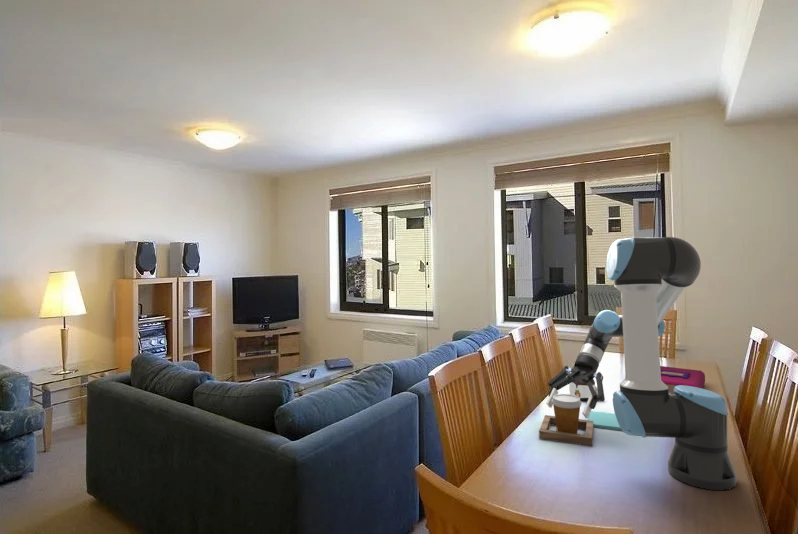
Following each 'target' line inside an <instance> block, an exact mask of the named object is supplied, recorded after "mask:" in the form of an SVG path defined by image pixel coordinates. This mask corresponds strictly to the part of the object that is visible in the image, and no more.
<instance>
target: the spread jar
mask: <svg viewBox="0 0 798 534" xmlns="http://www.w3.org/2000/svg"><path fill="white" fill-rule="evenodd" d="M571 378H572V379H573V376H572V377H571ZM591 383H592V385H593V387H594V390H595V392H596V394H597V395H598V390H597V382H595V378H593V379H592V380H591ZM568 385H569V387H568V388H569V389H568V390H569V393H570V394H569V395H574V396H577V397H579V398H580V400H581V402H588V399H589V397H592V394H591V392H590V390H589V387H588V385H587V383H585V384H583V383H581V382H576V381H575V382H573V383H572V382H571V383H570V384H568ZM592 398H593V397H592Z"/></svg>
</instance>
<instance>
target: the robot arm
mask: <svg viewBox="0 0 798 534" xmlns="http://www.w3.org/2000/svg"><path fill="white" fill-rule="evenodd" d="M605 262H606V263H605V272H606V276H607V278H608V279H609V280H610V281H614V288H616V289H617V291H619V292H620V297H621V314H617V313H616V312H615V311H612V310H609V309H605V310H602V311H600V312H599V313H598V314H597V315H596V317H595V318H594V320H593V323H592V324H591V326H590V328H589V331H588V333H587V335H586V338H585V339H584V341H583V344H582V346H581V348H580V351H579V352H578V355H577V357H576V360H575V362H574V365H573V367H572V368H571V367H568V365H564V366H563V367H562V370H561V371H560V372H558V373H557V374H556V375H555V376H554V377H553V378H552V379H551V380H549V381H548V382H547V385H548V387H549V388H550V390H549V392H548V399H547V400H546V403H545V404H546V405H547V407H549V408H550V409H552V407H553V403H552V399H553V396H554V395H558V394H559V390H561V389H563V388H564V387H566V386H568V385H569V384H570V383H571V382H572V383H573V382H575V381H576V382H581V383H583V384H585V383H587V385H588V387H589V390H590V392H591V394H592V397H593V398H592V397H589V399H588V401H586V404H585V407H584V409H583V411H582V415H583V416H584V418H586V419H588V417H589V414H590V412H591V411H593V410H594V409H595V408H596V406H597V403H598V402H600V401H601V402H604V401H605V399H606V397H605V391H604V385H603V380H604V376H603V374H602V373H601V371H598V369H599V367H600V364H601V362H602V359H603V356H604V354H605V352H606V349H607V347H608V345H609V344H610V341H611V339H612V338H614V337H615V338H616V337H617V338H620V337H621V338H623V354H624V355H623V357H624V374H625V375H624V376H625V377H624V379H623V380H622V381H621V382H620V383H619V390H616V391H614V392H613V393H612V396H613V397H612V404H613V405H612V406H613V411H614V414H615V415H616V418H617V421H618V423H619V425H620V427H621V429H622V430H623V431H622V432H624V433H625V434H626V435H628V436H632V437H640V438H673V439H674V445H673V448H672V450H671V453H670V454H669V455H670V456H669V458H668V460H667V471H668V473H669V474H670V475H671V476H672V477H673V478H675V479H676V480H677V481H678V480H679V481H680V482H682V483H684V482H685V483H684V484H686V483H688V484H687V485H689V484H691V485H690V486H692V485H693V486H692V487H695V486H697V487H696V488H699V487H700V489H704V488H705V490H710V491H711V490H712V491H725V490H724V489H729V488H732V487H734V486H735V485H736V486H737V484H736V483H737V473H736V471H735V468H734V465H733V462H732V461H731V458H730V455H729V452H728V451H729V449H728V448H729V447H728V445H729V444H728V443H729V442H728V416H729V413H728V406H727V400H726V399H725V397H723V396H722V395H720V394H719V393H717V392H714V391H712V390H708V389H705V388H703V389H702V388H697V387H692V386H684V385H679V386H675V387H674V389H673V391H674V392H673V393H670V392H668V386H667V385H665V384H664V383H663V382H662V380H661V370H660V366H661V358H660V357H661V356H660V355H661V354H660V342H659V341H660V340H659V337H662V335H664V332H665V331H664V330H665V321H664V319H665V317H666V316H667V314H668V313H669V311H670V310H671V308H672V307H673V306H674V304H675V303H676V301H677V300H678V298H679V297H680V295H681V294H682V293H683V291H684V290H685V288H688V287H690V286H691V285H693V284H694V283H695V281H697V278H698V277H699V275H700V272H701V266H702V265H701V264H702V262H701V258H700V256H699V253H698V251H697V250H696V248H695V247H694V246H693V245H692V244H691V243H690V242H688V241H686V240H685V239H682V238H679V237H674V236H663V237H655V236H654V237H628V238H618V239H616V240H615V241H613V242H612V244H611V245H610V247H609V250H608V252H607V257H606V261H605ZM572 376H573V379H572V378H571V377H572ZM592 379H595V380H596V382H595V383H597V390H598V395H597V394H596V392H595V390H594V387H593V385H592V383H591V380H592ZM736 486H735V487H736ZM735 487H734V488H735ZM732 489H733V488H732ZM729 490H730V489H729Z"/></svg>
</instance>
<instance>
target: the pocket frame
mask: <svg viewBox="0 0 798 534" xmlns="http://www.w3.org/2000/svg"><path fill="white" fill-rule="evenodd" d="M550 424H554V425H553V426H556V420H555V415H547V414H545V415H544V417H543V419H542V422H541V425H540V427H539V431H538V437H539V438H542V439H541V440H546V439H547V440H549V441H553V442H554V441H555V442H561V443H562V442H563V443H569V444H575V445H582V446H583V445H584V446H590V447H593V442H594V441H593V440H594V439H593V438H594V427H593V421H590V420H588V419H580V418H579V421H578V429H582V430H585V433H584V434H582V433H577V434H575V433H568V432H560V431H557V430H550V426H551V425H550Z"/></svg>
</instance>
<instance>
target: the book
mask: <svg viewBox="0 0 798 534" xmlns="http://www.w3.org/2000/svg"><path fill="white" fill-rule="evenodd" d="M660 370H661V380H662V382H663V383H664V384H665V385H667V386H668V392H670V393H673V392H674V391H673V389H674V387H675V386H679V385H684V386H692V387H697V388H702V389H704V386H705V383H706V374H705V372H703V370H697V369H690V368H681V367H672V366H665V365H664V366H662V365H660Z"/></svg>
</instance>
